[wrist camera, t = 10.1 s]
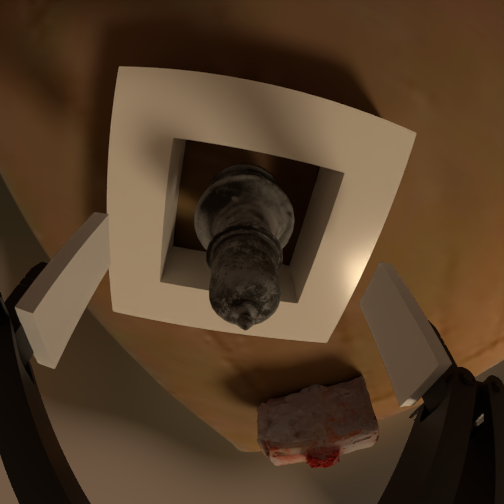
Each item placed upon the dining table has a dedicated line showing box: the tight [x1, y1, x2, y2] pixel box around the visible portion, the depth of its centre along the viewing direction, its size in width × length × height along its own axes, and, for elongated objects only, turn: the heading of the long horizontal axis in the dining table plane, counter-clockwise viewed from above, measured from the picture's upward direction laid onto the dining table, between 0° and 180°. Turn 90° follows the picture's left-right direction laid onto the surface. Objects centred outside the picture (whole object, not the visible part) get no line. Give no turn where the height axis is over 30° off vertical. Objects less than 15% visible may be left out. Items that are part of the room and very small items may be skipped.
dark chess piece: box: [194, 164, 295, 331], centre depth 15 cm, size 6×6×12 cm
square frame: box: [107, 66, 417, 343], centre depth 19 cm, size 16×16×4 cm
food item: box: [257, 376, 379, 468], centre depth 30 cm, size 14×8×10 cm, turn 108°
